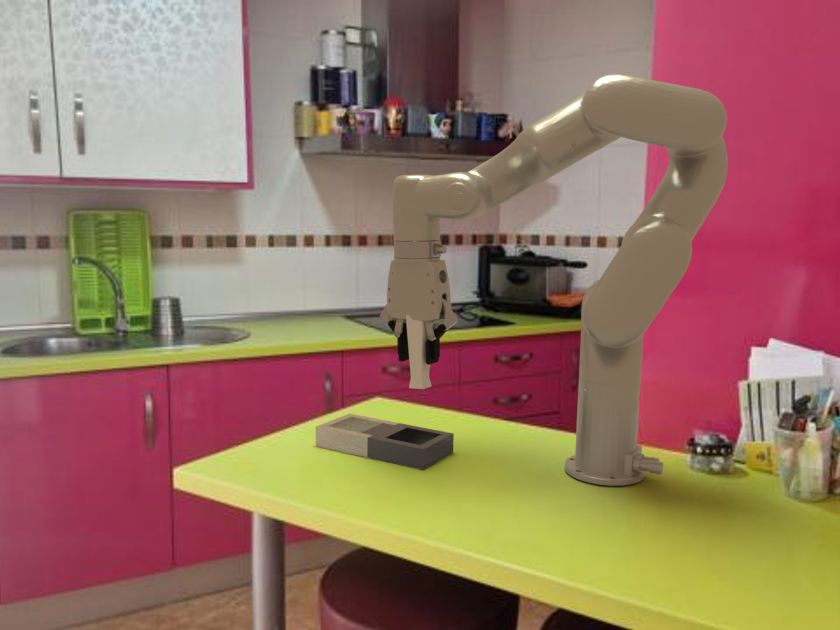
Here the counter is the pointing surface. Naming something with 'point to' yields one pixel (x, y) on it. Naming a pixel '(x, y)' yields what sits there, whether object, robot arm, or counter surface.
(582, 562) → the counter surface
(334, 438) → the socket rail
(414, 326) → the perfume bottle
